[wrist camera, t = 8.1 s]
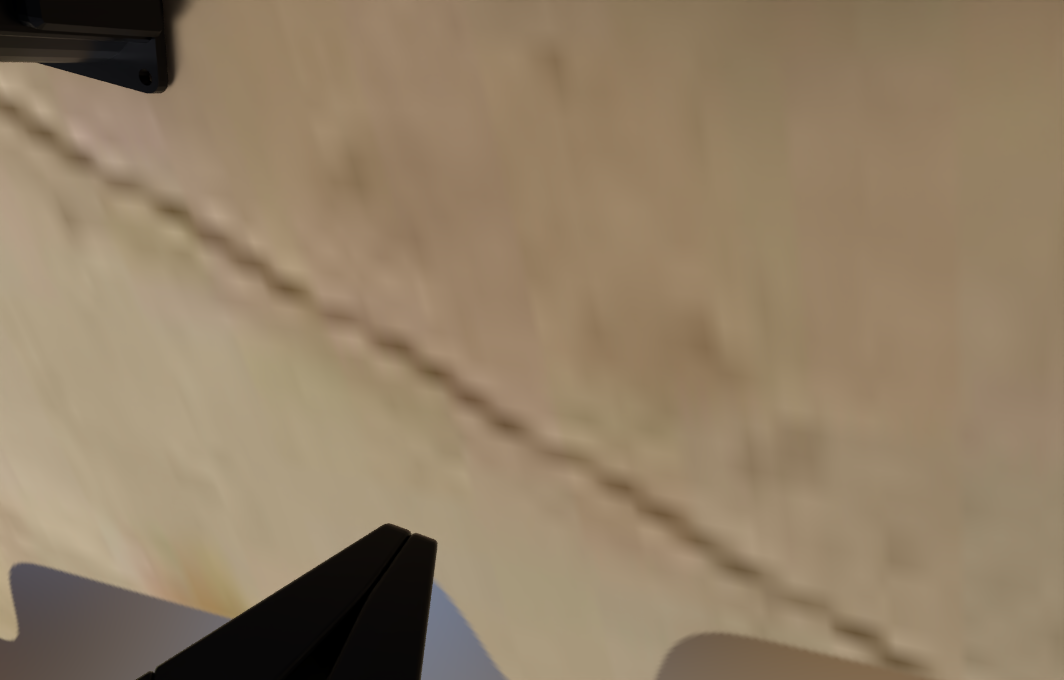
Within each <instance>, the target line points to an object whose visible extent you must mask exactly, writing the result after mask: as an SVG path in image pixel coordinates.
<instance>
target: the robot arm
mask: <svg viewBox="0 0 1064 680" xmlns="http://www.w3.org/2000/svg"><path fill="white" fill-rule="evenodd" d="M0 62H35V63H40V64H43V65H47V66H51V67H54V68H58V69H61V70H65V71H69V72H72V73H76V74H79V75H83V76H87V77H90V78H94V79H97V80H101V81H104V82H108V83H112V84H115V85H119V86H122V87H126V88H130V89H133V90H137V91H140V92H144V93H162V92H164V91H165V90H166V88H167V87H168V73H167V59H166V45H165V32H164V18H163V4H162V0H0ZM149 73H150V74H151V77H152V82H151V81H150V79H149ZM436 553H437V541H436V540H434V539H432V538H429V537H426V536H423V535H421V534H418V533H414V534H412V535H411V532H410V531H409V530H407V529H404V528H401V527H399V526H396V525H393V524H389V523H388V524H384V525H382V526H380V527H379V528H377V529H376V530H374V531H372V532H371V533H369V534H368V535H366V536H364V537H363V538H361V539H360V540H358V541H356V542H355V543H353V544H352V545H350V546H349V547H347V548H345V549H344V550H342V551H341V552H339V553H337V554H336V555H334V556H333V557H331V558H329V559H328V560H326V561H325V562H323V563H321V564H320V565H318V566H317V567H315V568H313V569H312V570H310V571H309V572H307V573H306V574H304V575H302V576H301V577H299V578H298V579H296V580H294V581H293V582H291V583H290V584H288V585H286V586H285V587H283V588H282V589H280V590H278V591H277V592H275V593H274V594H272V595H270V596H269V597H267V598H266V599H264V600H262V601H261V602H259V603H258V604H256V605H255V606H253V607H251V608H250V609H248V610H247V611H245V612H243V613H242V614H240V615H239V616H237V617H235V618H234V619H232V620H231V621H229V622H227V623H226V624H224V625H223V626H221V627H219V628H218V629H216V630H215V631H213V632H212V633H210V634H208V635H207V636H205V637H204V638H202V639H200V640H199V641H197V642H196V643H194V644H192V645H191V646H189V647H188V648H186V649H184V650H183V651H181V652H180V653H178V654H176V655H175V656H173V657H172V658H170V659H168V660H167V661H165V662H164V663H162V664H161V665H159V666H157V667H156V669H155V673H153V671H149V672H147V673H146V674H144V675H142V676H141V677H139V678H138V679H136V680H421V672H422V664H423V656H424V647H425V641H426V633H427V625H428V617H429V609H430V601H431V593H432V584H433V577H434V569H435V561H436Z"/></svg>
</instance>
